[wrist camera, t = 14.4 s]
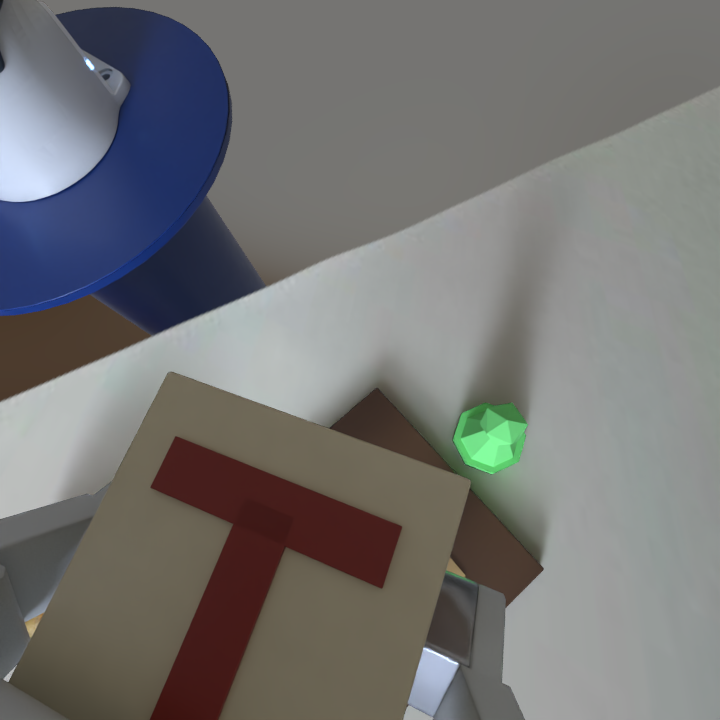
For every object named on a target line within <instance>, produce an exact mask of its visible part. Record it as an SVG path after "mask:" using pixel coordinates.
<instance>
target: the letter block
mask: <svg viewBox="0 0 720 720" xmlns="http://www.w3.org/2000/svg"><path fill="white" fill-rule="evenodd" d="M470 486H471V481H470V480H469V479H467V478H465V477H462V476H459V475H456V474H454V473H451V472H448V471H445V470H442V469H440V468H437V467H434V466H431V465H429V464H426V463H423V462H420V461H418V460H415V459H412V458H409V457H407V456H404V455H401V454H398V453H395V452H393V451H390V450H387V449H384V448H382V447H379V446H376V445H373V444H371V443H368V442H365V441H362V440H359V439H357V438H354V437H351V436H348V435H346V434H343V433H340V432H337V431H335V430H332V429H329V428H326V427H324V426H321V425H318V424H315V423H312V422H310V421H307V420H304V419H301V418H299V417H296V416H293V415H290V414H288V413H285V412H282V411H279V410H277V409H274V408H271V407H268V406H265V405H263V404H260V403H257V402H254V401H252V400H249V399H246V398H243V397H241V396H238V395H235V394H232V393H229V392H227V391H224V390H221V389H218V388H216V387H213V386H210V385H207V384H205V383H202V382H199V381H196V380H194V379H191V378H188V377H185V376H182V375H180V374H177V373H174V372H168V373H167V375H166V377H165V379H164V381H163V383H162V385H161V387H160V389H159V391H158V393H157V395H156V397H155V399H154V401H153V402H152V404H151V406H150V408H149V410H148V412H147V414H146V416H145V418H144V420H143V422H142V424H141V426H140V428H139V430H138V432H137V434H136V435H135V437H134V439H133V441H132V443H131V445H130V447H129V449H128V451H127V453H126V455H125V457H124V459H123V461H122V463H121V465H120V467H119V468H118V470H117V472H116V474H115V476H114V478H113V480H112V482H111V484H110V486H109V488H108V490H107V492H106V494H105V496H104V498H103V500H102V501H101V503H100V505H99V507H98V509H97V511H96V513H95V515H94V517H93V519H92V521H91V523H90V525H89V527H88V529H87V531H86V533H85V534H84V536H83V538H82V540H81V542H80V544H79V546H78V548H77V550H76V552H75V554H74V556H73V558H72V560H71V562H70V564H69V566H68V567H67V569H66V571H65V573H64V575H63V577H62V579H61V581H60V583H59V585H58V587H57V589H56V591H55V593H54V595H53V597H52V599H51V600H50V602H49V604H48V606H47V608H46V610H45V612H44V614H43V616H42V618H41V620H40V622H39V624H38V626H37V628H36V630H35V632H34V633H33V635H32V637H31V639H30V641H29V643H28V645H27V647H26V649H25V651H24V653H23V655H22V657H21V659H20V661H19V663H18V664H17V666H16V668H15V670H14V672H13V674H12V676H11V678H10V680H9V682H8V683H10V684H12V685H13V686H15V687H16V688H18V689H20V690H21V691H23V692H25V693H26V694H28V695H30V696H31V697H33V698H35V699H36V700H38V701H40V702H41V703H43V704H45V705H46V706H48V707H50V708H51V709H53V710H54V711H56V712H58V713H59V714H61V715H63V716H64V717H66V718H68V719H69V720H403V718H404V714H405V711H406V707H407V704H408V700H409V697H410V693H411V690H412V686H413V683H414V680H415V676H416V673H417V669H418V666H419V662H420V659H421V655H422V652H423V648H424V645H425V641H426V638H427V635H428V631H429V628H430V624H431V621H432V617H433V614H434V610H435V607H436V603H437V600H438V596H439V593H440V590H441V586H442V583H443V579H444V576H445V572H446V569H447V565H448V562H449V558H450V555H451V551H452V548H453V544H454V541H455V538H456V534H457V531H458V527H459V524H460V520H461V517H462V513H463V510H464V506H465V503H466V499H467V496H468V493H469V489H470Z"/></svg>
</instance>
